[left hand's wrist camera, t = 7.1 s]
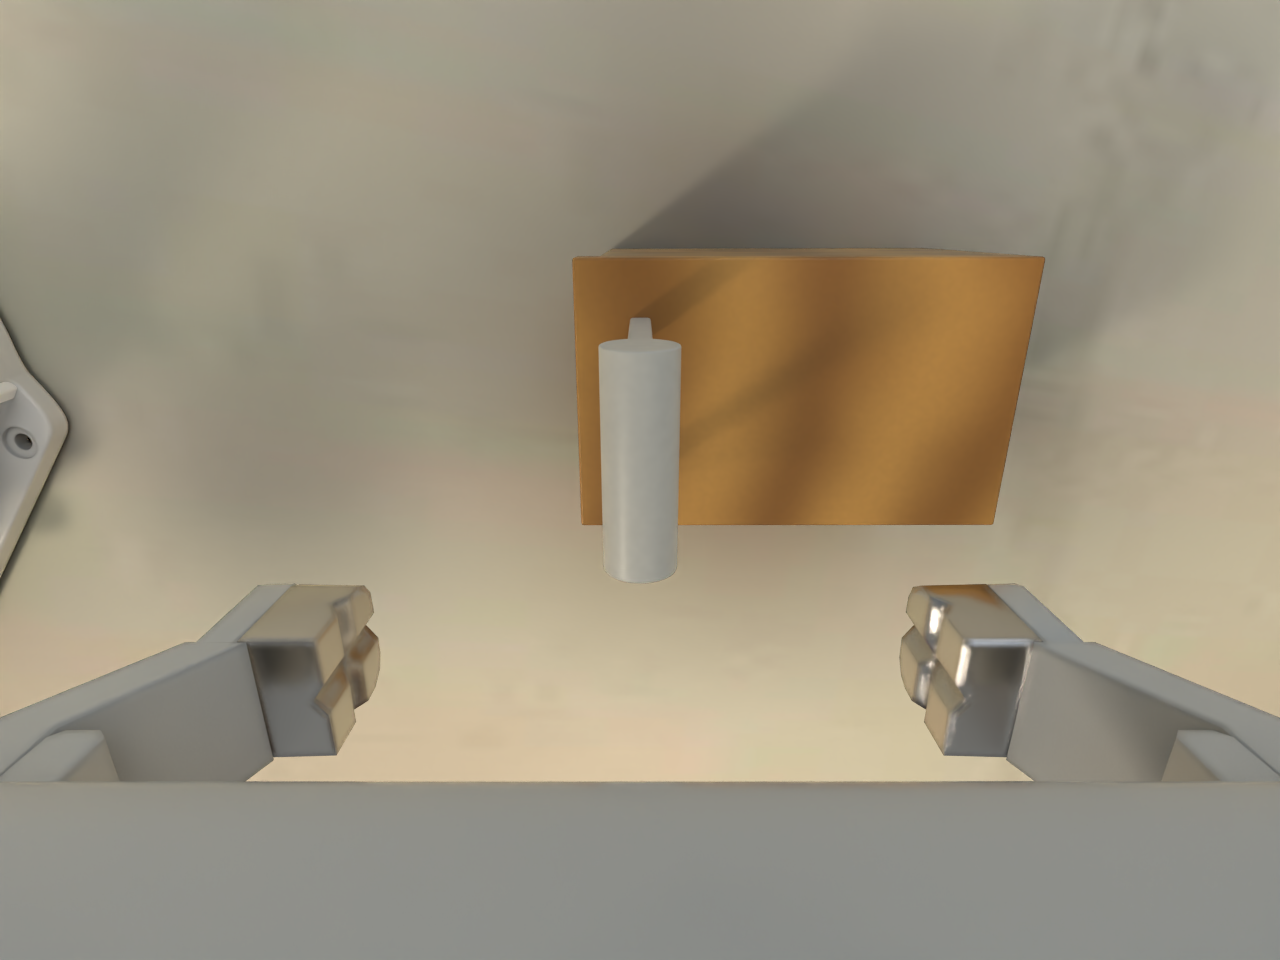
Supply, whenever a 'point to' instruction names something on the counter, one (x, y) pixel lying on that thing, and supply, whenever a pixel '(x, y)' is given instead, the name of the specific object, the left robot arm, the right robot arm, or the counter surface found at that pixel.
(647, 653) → the counter surface
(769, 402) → the lid
